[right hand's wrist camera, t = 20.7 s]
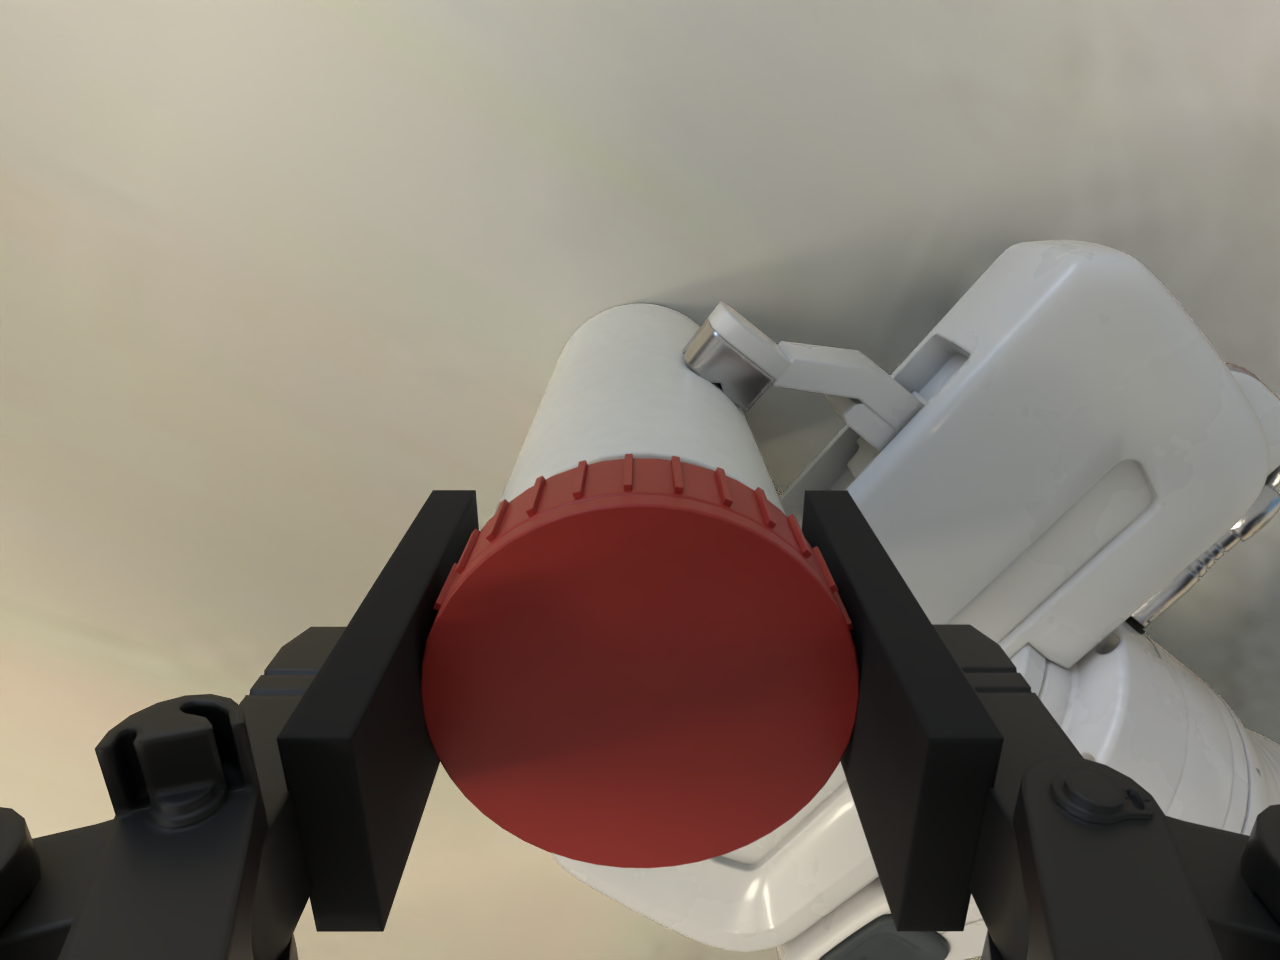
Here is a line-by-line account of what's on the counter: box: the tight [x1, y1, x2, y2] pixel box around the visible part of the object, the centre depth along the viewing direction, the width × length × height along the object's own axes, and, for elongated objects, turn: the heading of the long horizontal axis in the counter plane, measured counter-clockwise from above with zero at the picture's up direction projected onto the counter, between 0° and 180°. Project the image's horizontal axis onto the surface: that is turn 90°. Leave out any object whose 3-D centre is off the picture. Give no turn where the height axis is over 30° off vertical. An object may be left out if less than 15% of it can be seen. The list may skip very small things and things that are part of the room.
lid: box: [421, 454, 860, 868], centre depth 11 cm, size 6×6×2 cm
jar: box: [495, 303, 786, 515], centre depth 18 cm, size 6×6×15 cm
